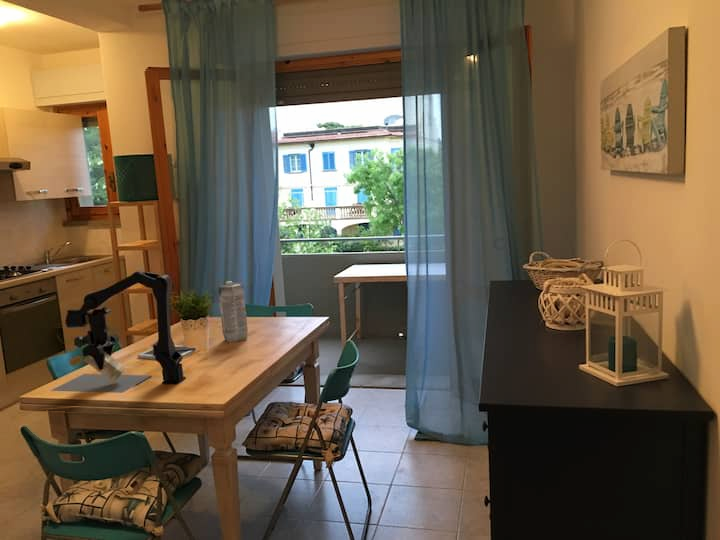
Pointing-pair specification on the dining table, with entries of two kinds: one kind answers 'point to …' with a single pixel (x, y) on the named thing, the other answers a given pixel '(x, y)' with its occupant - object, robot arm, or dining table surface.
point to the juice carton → (233, 311)
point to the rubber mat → (102, 383)
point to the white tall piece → (108, 367)
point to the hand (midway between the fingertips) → (104, 367)
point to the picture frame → (180, 349)
